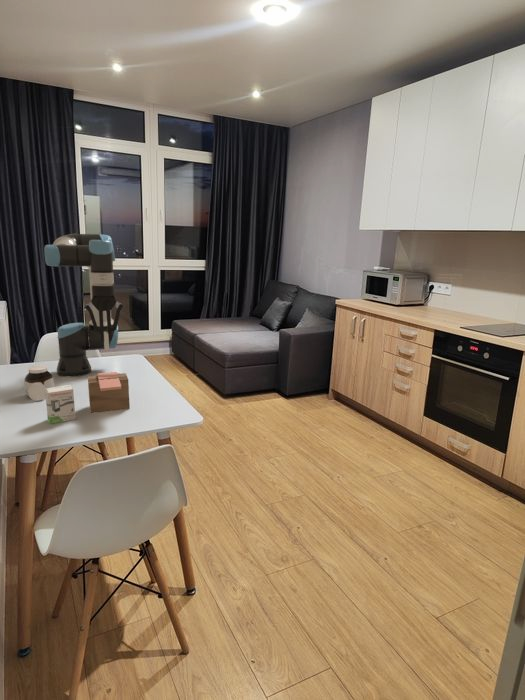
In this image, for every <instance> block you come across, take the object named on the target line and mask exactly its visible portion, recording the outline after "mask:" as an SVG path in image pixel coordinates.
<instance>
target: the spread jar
mask: <svg viewBox="0 0 525 700" xmlns="http://www.w3.org/2000/svg"><path fill="white" fill-rule="evenodd" d="M52 387H55V381H54V376H53V374H51V372H50V371H48V365H41V364H40V365H38V364H37V365H33V366H30V367H29V368H28V373H27V374H26V375H25V378H24V389H25V393H26V394H27V395H28V397H29V398H30V399H31V400H33V401H38V402H40V401H42V400H44V399H46V394H45V389H47V388H52Z"/></svg>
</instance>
